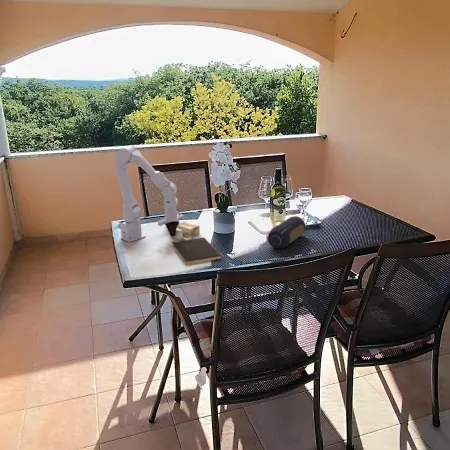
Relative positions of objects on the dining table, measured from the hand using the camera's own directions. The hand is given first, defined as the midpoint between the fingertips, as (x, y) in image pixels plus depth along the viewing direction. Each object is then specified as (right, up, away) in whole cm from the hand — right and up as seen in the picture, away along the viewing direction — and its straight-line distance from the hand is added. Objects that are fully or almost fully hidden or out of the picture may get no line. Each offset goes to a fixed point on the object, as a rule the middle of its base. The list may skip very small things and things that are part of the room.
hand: (172, 236), depth 206 cm
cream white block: (+3, -1, +2) cm, 4 cm away
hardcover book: (+12, -7, -14) cm, 20 cm away
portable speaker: (+54, -3, -5) cm, 55 cm away
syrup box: (-2, +5, +20) cm, 21 cm away
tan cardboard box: (+4, 0, +4) cm, 5 cm away
